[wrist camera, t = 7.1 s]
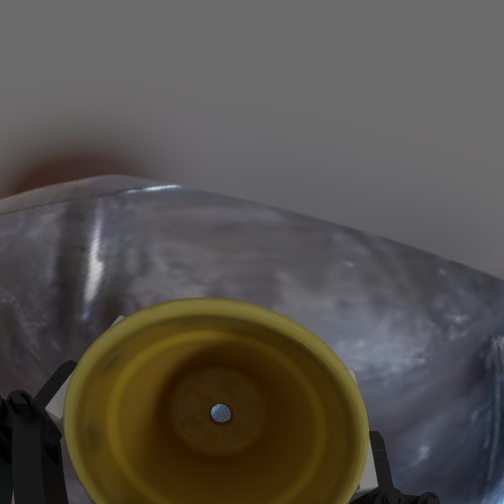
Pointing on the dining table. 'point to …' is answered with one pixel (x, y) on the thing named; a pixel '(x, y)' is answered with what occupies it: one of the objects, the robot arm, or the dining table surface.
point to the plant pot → (201, 403)
